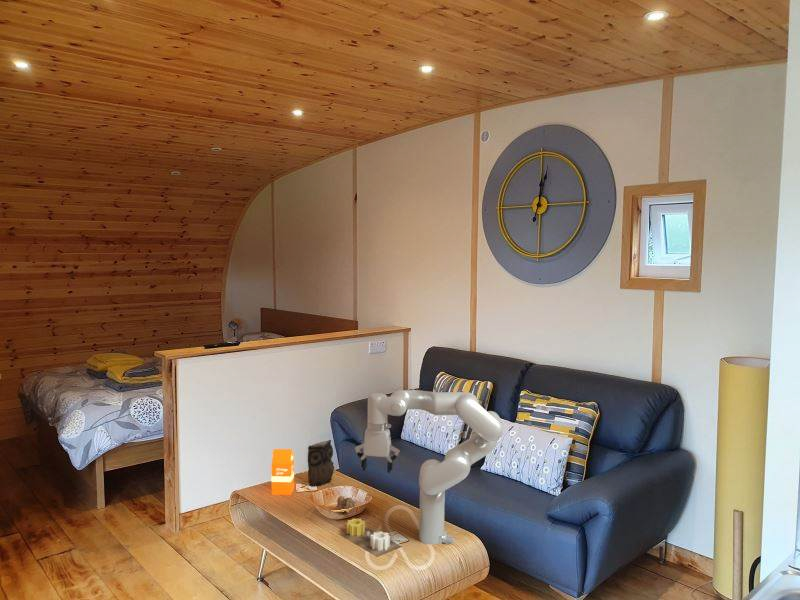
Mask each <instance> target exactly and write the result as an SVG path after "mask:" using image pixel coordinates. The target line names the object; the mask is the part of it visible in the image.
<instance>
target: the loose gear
mask: <svg viewBox="0 0 800 600" xmlns="http://www.w3.org/2000/svg"><path fill="white" fill-rule="evenodd" d="M390 540H391V535H389V533H388V532H383V530H382V531H378V532H377V531H375V532H374V533H373V535H371V546H372V549H373V550H374V549H377V550H378V551H381V550H383V549H384V550H387V547H390Z"/></svg>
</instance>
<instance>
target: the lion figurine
mask: <svg viewBox="0 0 800 600" xmlns="http://www.w3.org/2000/svg"><path fill="white" fill-rule="evenodd" d="M336 502H337V503H336V507H339V508H340V509H341V510H342V509H349V508H352V509H353V508H355V506H356V505H357V502H355V500H353V498H352V497H347V498H345V496H343V495H340V496H338V498H337V501H336Z"/></svg>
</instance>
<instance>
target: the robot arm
mask: <svg viewBox="0 0 800 600" xmlns="http://www.w3.org/2000/svg"><path fill="white" fill-rule="evenodd" d="M407 410H421V411H425V412H427V413H429V414H431V415H433V416H458V418H460V419H461V420H462V421H463V423H465V424H466V425H467V426H468V427H469V428H470V429H471V430H473V431H474V432H475V433H474V434H473V435H472V436H471V437H470V438H468V439H466V440H465V441H463V442H461V443H459V444H458V445H456V446H453V447H451V448H450V449H449V450H448V451H446V453H445V456H444V460H443V461H442V462H441V461H439V460H438V459H433V458H432V459H427V460H426V461H423V463H422V464H421V467H420V470H419V476H418V485H419V509H418V510H419V511H418V512H419V515H418V516H419V521H418V523H419V525H418V526H419V527H418V528H419V529H418V539H419V541H420V542H421V543H423V544H426V545H430V546H431V545H432V546H433V545H443V544H446V545H448V544H452V545H454V544H455V538H454V535H451V534H447V529H445V503H446V501H445V499H446V490H448V489H450V488H453V487H454V486H456V485H457V484H459V483H460V482H462V481H463V480H465V479H466V478H467V477H468V475H469V474H470V473H471V472H470V471H471V466H472V465H473V464H475V463H476V462H478V461H480V460H481V459H482V458H485V457H486V456H487V455H488V454H490V453H491V452H492V451H493V450H494V449H495V448H496V445H497V443H498V442H499V439H501V437H502V436H503V433H504V427H503V424H502V420H501V417H500V415H499V414H498V413H497V412H496V411H492V410H488V411H487V410H486V409H485V408H484V407H483V406H482V405H481V404H480V403H479V400H478V398H477V396H476V395H475V394H473V392H468V391H454V392H453V391H449V392H446V391H445V392H444V391H443V392H440V391H438V392H437V391H426V390H421V389H420V390H419V389H405V390H404V389H401V390H396V391H394V392H392V393H391V395H390V396H387V395H386V393H382V392H373V393H370V394H369V395H368V396H367V427H366V428H365V432H364V437H363V438H364V439H363V443H361V444H358V445H356V446H355V448H354V450H355V452H356V455H357V456H358V458H359V459H360V460H361V468H362V471H363V472H364V471H366V469H367V465H368V464H367V461H368V460H367V457H375V458H377V457H378V458H385V459H387V461H388V462H387V473H391V471H392V470H393V463H394V462H393V461H394V460H395V459H397V457H398V456H399V453H400V452H401V451H400V449H398V448H396V447H395V446H393V444H392V440H391V439H392V437H391V432H390V429H391V428H392V424H391V423H389V422H388V416H395V417H401V416H403V415H404V414H405V413H406V412H407ZM361 449H363V453H362V452H361ZM392 452H394V454H393V456H392V454H391V453H392Z"/></svg>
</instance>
